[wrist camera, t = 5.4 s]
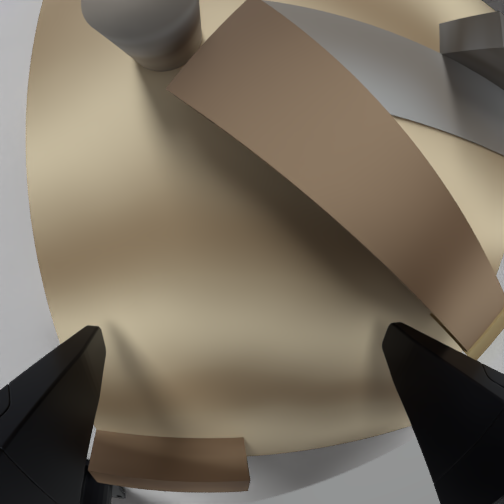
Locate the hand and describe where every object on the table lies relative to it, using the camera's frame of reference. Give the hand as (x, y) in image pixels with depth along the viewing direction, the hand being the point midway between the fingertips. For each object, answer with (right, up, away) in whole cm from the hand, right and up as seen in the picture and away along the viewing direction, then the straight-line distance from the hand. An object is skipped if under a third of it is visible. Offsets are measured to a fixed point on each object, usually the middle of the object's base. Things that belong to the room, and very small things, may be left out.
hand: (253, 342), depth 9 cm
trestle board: (+2, +3, +2) cm, 4 cm away
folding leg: (+4, +4, 0) cm, 5 cm away
